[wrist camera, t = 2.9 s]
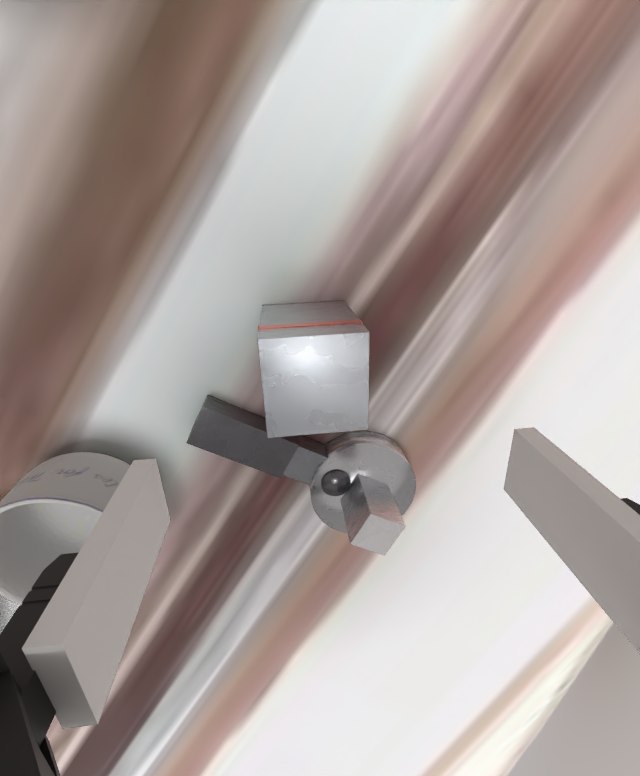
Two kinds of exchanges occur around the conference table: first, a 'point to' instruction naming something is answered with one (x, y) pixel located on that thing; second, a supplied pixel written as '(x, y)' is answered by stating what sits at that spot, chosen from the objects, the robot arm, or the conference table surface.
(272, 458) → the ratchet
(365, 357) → the red-striped grey block
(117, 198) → the conference table surface
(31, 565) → the teacup
